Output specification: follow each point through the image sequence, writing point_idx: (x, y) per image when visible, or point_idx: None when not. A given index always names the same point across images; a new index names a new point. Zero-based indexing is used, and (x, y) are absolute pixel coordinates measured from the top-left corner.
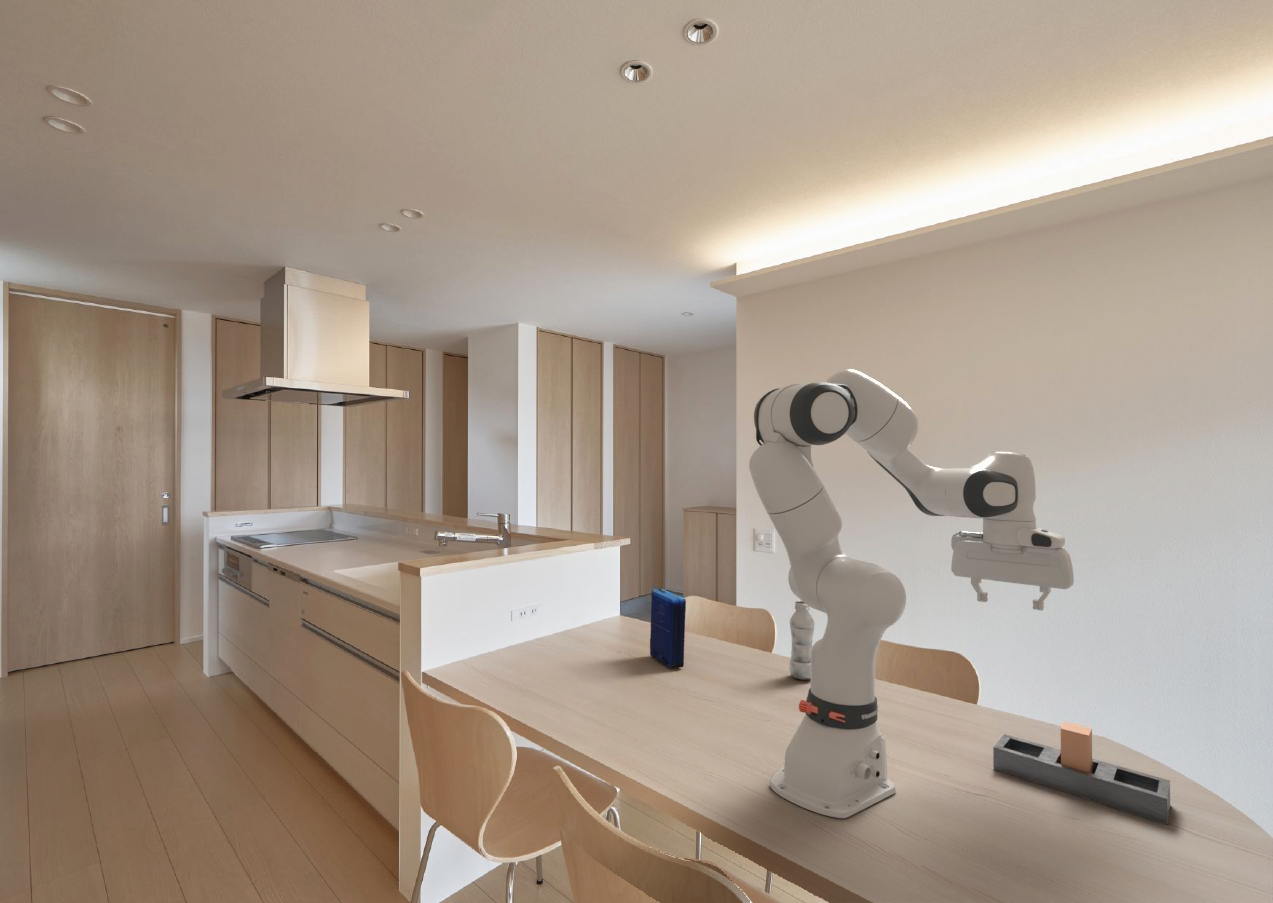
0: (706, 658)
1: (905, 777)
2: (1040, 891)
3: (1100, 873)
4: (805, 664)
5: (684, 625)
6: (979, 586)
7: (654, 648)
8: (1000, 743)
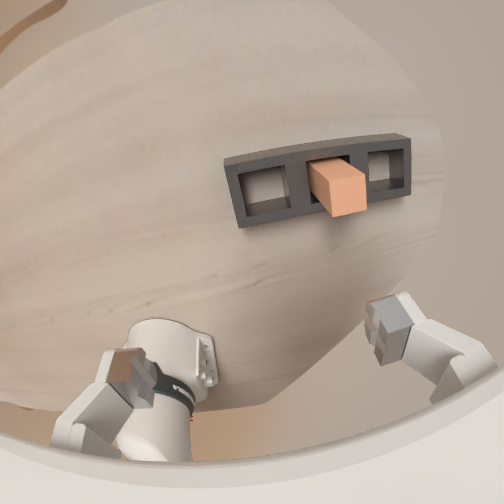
0: None
1: (196, 310)
2: (334, 346)
3: (360, 304)
4: None
5: None
6: (94, 413)
7: None
8: (238, 206)
